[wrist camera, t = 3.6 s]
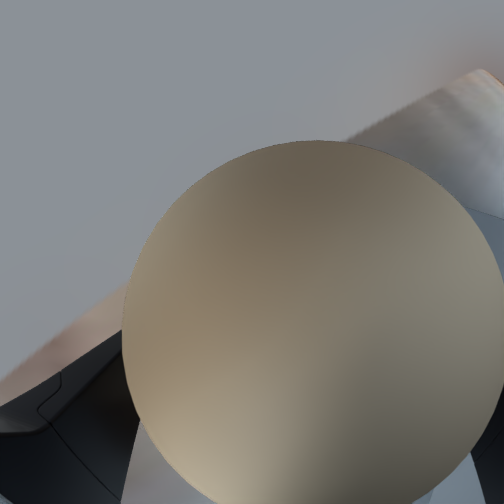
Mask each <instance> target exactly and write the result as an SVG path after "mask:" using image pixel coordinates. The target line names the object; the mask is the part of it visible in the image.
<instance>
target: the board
mask: <svg viewBox="0 0 504 504" xmlns="http://www.w3.org/2000/svg"><path fill="white" fill-rule="evenodd" d="M463 208H464V209H465V210H466V211H467V212H468V213H469V215H470V216H471V217H472V219H473V220H474V222H475V223H476V225H477V226H478V227H479V229H480V230H481V232H482V233H483V235H484V237H485V239H486V241H487V243H488V244H489V246H490V248H491V250H492V252H493V254H494V257H495V259H496V262H497V265H498V267H499V270H500V272H501V276H502V279H503V283H504V220H503V219H501V218H498V217H495V216H492V215H489V214H486V213H482V212H479V211H476V210H473V209H470V208H466V207H463ZM411 504H485V500H484V496H483V493H482V489H481V485H480V482H479V479H478V475H477V472H476V469H475V466H474V462H473V459H472V456H471V454H470V453H469V454H468V455H467V457H466V458H465V459H464V460H463V461H462V462H461V463H460V464H459V466H458V467H457V468H456V469H455V470H454V471H453V472H452V473H451V474H450V475H449V476H448V477H447V478H446V479H444V480H443V481H442V482H441V483H440V484H438V485H437V486H436V487H435V488H434V489H432V490H431V491H430V492H428V493H427V494H425V495H424V496H422V497H421V498H419V499H418V500H416V501H414V502H413V503H411Z"/></svg>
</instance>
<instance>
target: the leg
mask: <svg viewBox="0 0 504 504" xmlns="http://www.w3.org/2000/svg"><path fill="white" fill-rule="evenodd" d="M122 355H123V361H124V367H125V373H126V379H127V384H128V387H129V390H130V393H131V396H132V400H133V403H134V406H135V409H136V411H137V413H138V415H139V417H140V419H141V421H142V423H143V425H144V427H145V429H146V431H147V433H148V435H149V437H150V438H151V440H152V441H153V443H154V444H155V446H156V447H157V448H158V450H159V451H160V453H161V454H162V455H163V457H164V458H165V459H166V461H167V462H168V463H169V464H170V465H171V466H172V467H173V468H174V469H175V470H176V471H177V472H178V473H179V474H180V475H181V476H182V477H183V478H184V479H185V480H186V481H187V482H188V483H189V484H190V485H192V486H193V487H194V488H196V489H197V490H198V491H200V492H201V493H202V494H204V495H205V496H206V497H208V498H209V499H211V500H212V501H214V502H216V503H217V504H411V503H413V502H414V501H416V500H418V499H419V498H421V497H422V496H424V495H425V494H427V493H428V492H430V491H431V490H432V489H434V488H435V487H436V486H437V485H438V484H440V483H441V482H442V481H443V480H444V479H446V478H447V477H448V476H449V475H450V474H451V473H452V472H453V471H454V470H455V469H456V468H457V467H458V466H459V464H460V463H461V462H462V461H463V460H464V459H465V458H466V457H467V455H468V454H469V453H470V451H471V450H472V449H473V447H474V446H475V444H476V443H477V441H478V440H479V438H480V437H481V435H482V434H483V432H484V430H485V428H486V426H487V424H488V423H489V421H490V419H491V417H492V415H493V413H494V410H495V408H496V405H497V402H498V400H499V397H500V394H501V391H502V388H503V384H504V283H503V279H502V276H501V272H500V270H499V267H498V265H497V262H496V259H495V257H494V254H493V252H492V250H491V248H490V246H489V244H488V243H487V241H486V239H485V237H484V235H483V233H482V232H481V230H480V229H479V227H478V226H477V225H476V223H475V222H474V220H473V219H472V217H471V216H470V215H469V213H468V212H467V211H466V210H465V209H464V208H463V206H462V205H461V204H460V203H459V202H458V201H457V200H456V199H455V198H454V197H453V196H452V195H451V194H450V193H449V192H448V191H447V190H446V189H445V188H443V187H442V186H441V185H440V184H439V183H437V182H436V181H435V180H433V179H432V178H431V177H429V176H428V175H427V174H425V173H424V172H422V171H421V170H419V169H417V168H415V167H414V166H412V165H410V164H408V163H407V162H405V161H403V160H401V159H398V158H396V157H394V156H391V155H389V154H387V153H384V152H381V151H378V150H375V149H372V148H368V147H365V146H361V145H355V144H350V143H344V142H336V141H320V140H317V141H296V142H290V143H284V144H278V145H273V146H269V147H266V148H262V149H259V150H256V151H252V152H250V153H247V154H245V155H242V156H240V157H238V158H235V159H233V160H231V161H229V162H227V163H225V164H224V165H222V166H220V167H218V168H217V169H215V170H213V171H211V172H210V173H208V174H207V175H206V176H204V177H203V178H202V179H200V180H199V181H198V182H196V183H195V184H194V185H192V186H191V187H190V188H189V189H188V190H187V191H186V192H185V193H184V194H183V195H182V196H181V197H180V198H179V199H178V200H177V201H176V202H174V203H173V204H172V206H171V207H170V208H169V210H168V211H167V212H166V213H165V214H164V216H163V217H162V218H161V220H160V221H159V222H158V223H157V225H156V226H155V228H154V229H153V231H152V233H151V235H150V236H149V238H148V240H147V241H146V243H145V245H144V246H143V248H142V251H141V253H140V255H139V258H138V260H137V263H136V265H135V267H134V270H133V272H132V275H131V279H130V283H129V286H128V290H127V294H126V298H125V305H124V312H123V320H122Z"/></svg>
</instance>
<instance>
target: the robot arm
mask: <svg viewBox="0 0 504 504" xmlns="http://www.w3.org/2000/svg"><path fill="white" fill-rule="evenodd" d="M139 422H140V417H139V415H138V413H137V411H136V409H135V406H134V403H133V400H132V396H131V393H130V390H129V387H128V384H127V379H126V373H125V367H124V361H123V355H122V330H120V331H119V332H117V333H116V334H114V335H113V336H111V337H110V338H108V339H107V340H105V341H104V342H102V343H101V344H99V345H98V346H96V347H95V348H93V349H92V350H90V351H89V352H87V353H86V354H84V355H83V356H81V357H80V358H78V359H77V360H75V361H74V362H72V363H71V364H69V365H68V366H67V367H65V368H64V369H62V370H61V371H59V372H58V373H56V374H55V375H53V376H52V377H50V378H49V379H47V380H46V381H44V382H42V383H41V384H39V385H38V386H36V387H34V388H32V389H31V390H29V391H27V392H25V393H24V394H22V395H20V396H18V397H17V398H15V399H13V400H11V401H9V402H8V403H6V404H4V405H2V406H0V504H121V502H120V501H121V498H122V494H123V489H124V484H125V480H126V475H127V471H128V467H129V462H130V458H131V454H132V450H133V446H134V442H135V438H136V434H137V430H138V426H139ZM470 454H471V456H472V459H473V462H474V466H475V469H476V472H477V475H478V479H479V482H480V485H481V489H482V493H483V496H484V500H485V504H504V384H503V388H502V391H501V394H500V397H499V400H498V402H497V405H496V408H495V410H494V413H493V415H492V417H491V419H490V421H489V423H488V424H487V426H486V428H485V430H484V432H483V434H482V435H481V437H480V438H479V440H478V441H477V443H476V444H475V446H474V447H473V449H472V450H471V451H470Z"/></svg>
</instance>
